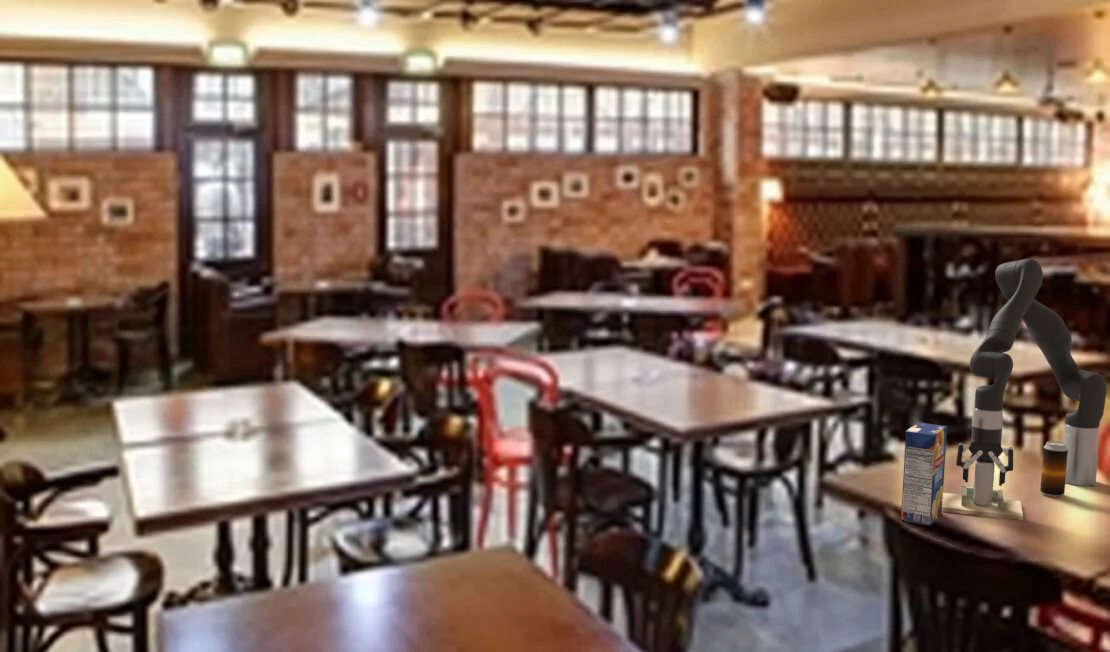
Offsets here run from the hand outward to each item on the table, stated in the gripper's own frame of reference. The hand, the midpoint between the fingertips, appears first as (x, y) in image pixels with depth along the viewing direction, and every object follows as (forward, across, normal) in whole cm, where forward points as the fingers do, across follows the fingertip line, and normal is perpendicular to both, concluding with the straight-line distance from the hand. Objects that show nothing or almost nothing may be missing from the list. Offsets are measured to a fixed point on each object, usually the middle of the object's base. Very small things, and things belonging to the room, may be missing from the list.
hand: (983, 483), depth 288 cm
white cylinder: (+6, 0, 0) cm, 6 cm away
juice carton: (+7, +15, +14) cm, 22 cm away
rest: (+7, 0, 0) cm, 7 cm away
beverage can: (+7, -19, -21) cm, 29 cm away
